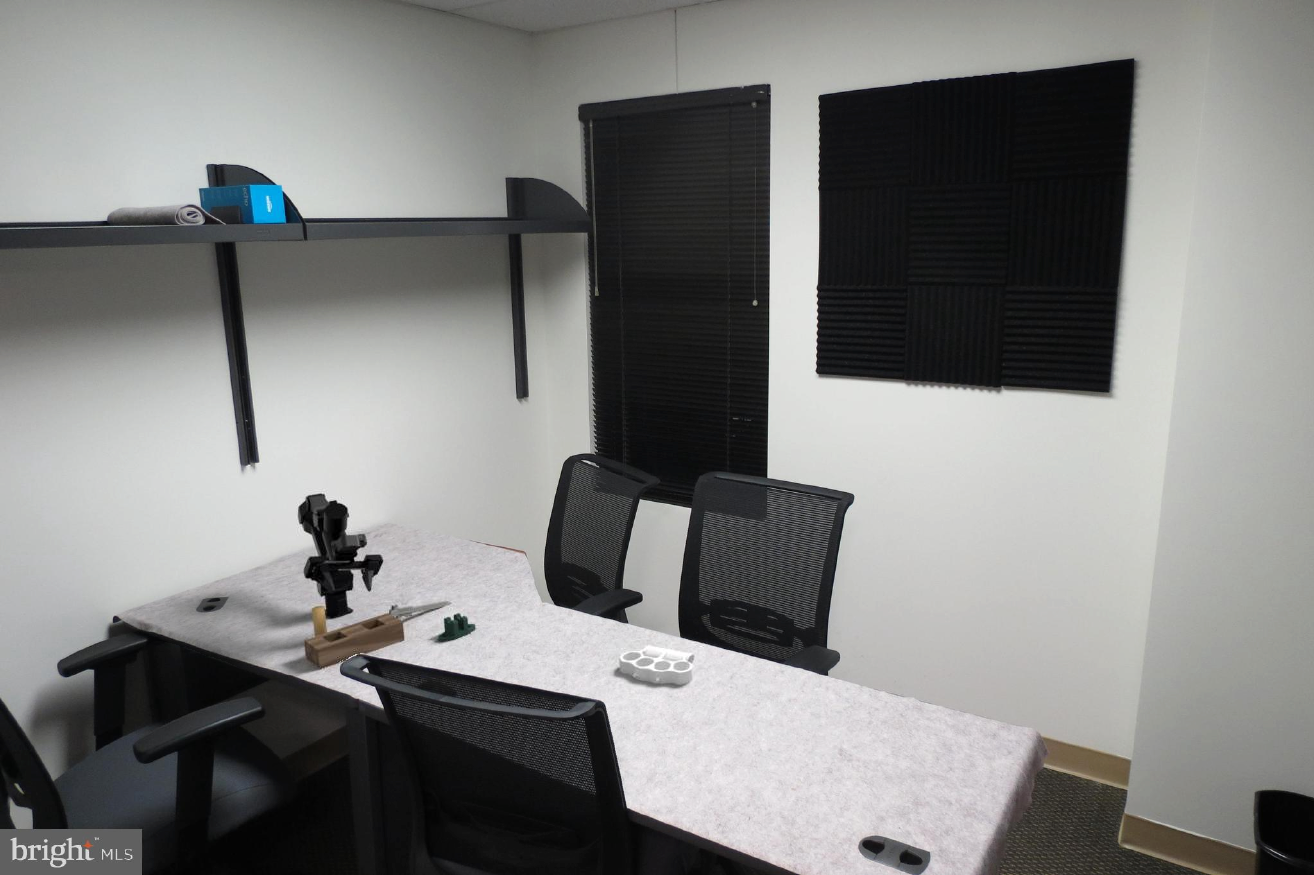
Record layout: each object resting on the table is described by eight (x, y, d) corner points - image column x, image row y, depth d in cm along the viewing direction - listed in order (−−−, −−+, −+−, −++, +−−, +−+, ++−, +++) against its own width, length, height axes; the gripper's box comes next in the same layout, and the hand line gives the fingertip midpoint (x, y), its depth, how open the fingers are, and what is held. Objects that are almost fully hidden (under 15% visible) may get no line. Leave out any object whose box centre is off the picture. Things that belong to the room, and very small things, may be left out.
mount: (443, 645, 225) (442, 626, 224) (433, 640, 228) (432, 622, 227) (479, 631, 233) (478, 613, 232) (469, 626, 236) (468, 608, 235)
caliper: (391, 630, 235) (389, 607, 234) (389, 629, 236) (387, 606, 234) (451, 604, 251) (450, 583, 250) (449, 603, 252) (447, 582, 250)
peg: (313, 641, 229) (309, 608, 227) (325, 637, 231) (321, 605, 229) (318, 645, 227) (314, 611, 225) (330, 641, 229) (326, 608, 227)
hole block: (306, 659, 219) (304, 639, 218) (389, 631, 234) (387, 613, 233) (320, 669, 213) (318, 650, 212) (404, 640, 228) (402, 621, 227)
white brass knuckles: (706, 665, 211) (681, 693, 198) (638, 652, 219) (609, 678, 206) (706, 652, 210) (680, 679, 198) (638, 639, 218) (609, 665, 205)
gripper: (309, 523, 223) (323, 571, 213) (381, 523, 235) (398, 568, 225) (297, 554, 228) (310, 602, 219) (369, 552, 240) (384, 597, 231)
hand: (352, 591), depth 223 cm, fingers open, 9 cm apart
